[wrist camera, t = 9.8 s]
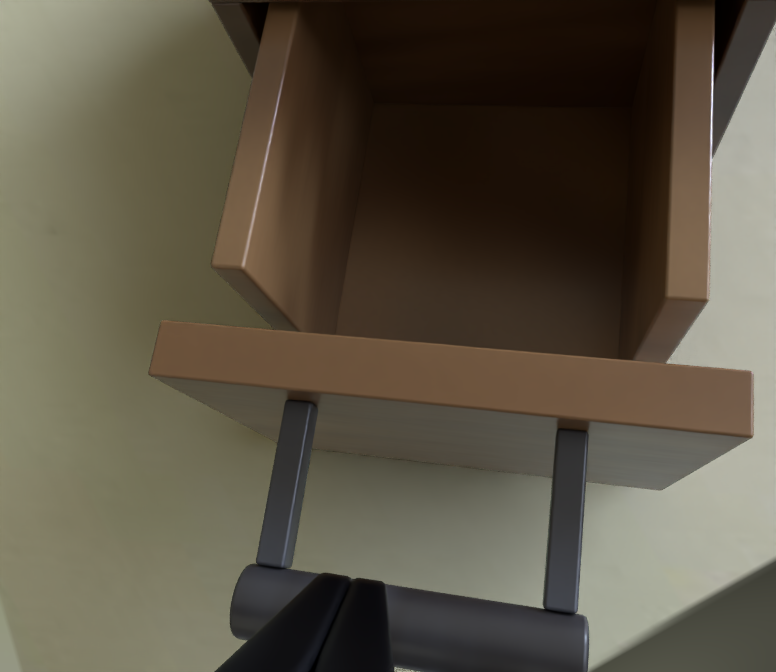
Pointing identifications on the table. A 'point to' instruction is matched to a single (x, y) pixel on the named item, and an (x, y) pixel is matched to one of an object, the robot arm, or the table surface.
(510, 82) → the drawer
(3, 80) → the table surface
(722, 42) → the cabinet
